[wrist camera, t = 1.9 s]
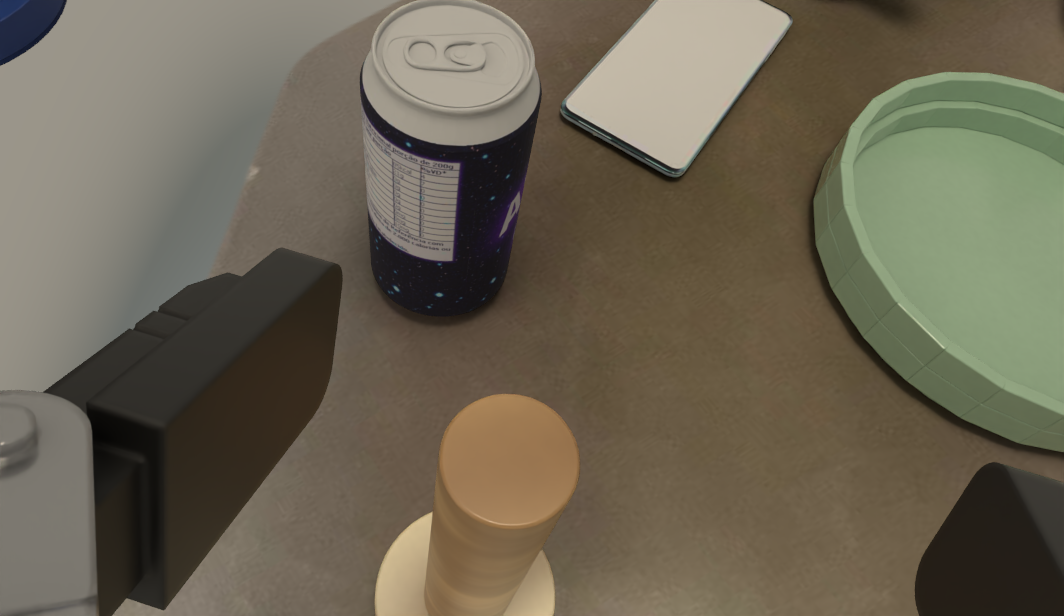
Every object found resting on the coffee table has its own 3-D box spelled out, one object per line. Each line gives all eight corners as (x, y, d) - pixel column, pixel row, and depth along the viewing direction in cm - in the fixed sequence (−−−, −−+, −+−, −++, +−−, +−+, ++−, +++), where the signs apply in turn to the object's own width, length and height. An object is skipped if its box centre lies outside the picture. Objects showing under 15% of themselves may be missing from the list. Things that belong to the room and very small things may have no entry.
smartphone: (556, 108, 39) (689, -38, 46) (554, 116, 40) (686, -30, 47) (680, 178, 38) (796, 17, 45) (676, 185, 38) (792, 24, 46)
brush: (345, 589, 27) (294, 416, 14) (481, 498, 29) (541, 279, 17) (436, 741, 25) (470, 696, 12) (574, 631, 27) (722, 497, 15)
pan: (727, 212, 38) (754, 164, 35) (961, 75, 46) (1000, 26, 43) (1056, 549, 31) (1124, 524, 28) (1265, 323, 39) (1336, 285, 36)
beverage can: (508, 328, 33) (554, 126, 23) (368, 326, 32) (352, 115, 22) (502, 218, 36) (541, -6, 26) (374, 214, 35) (362, -20, 25)
